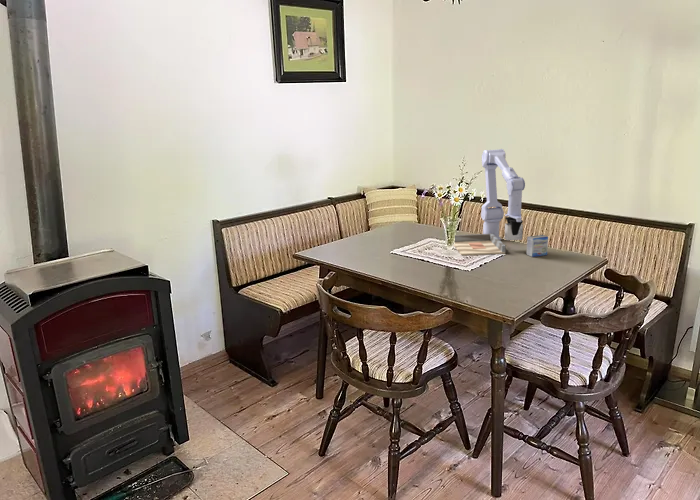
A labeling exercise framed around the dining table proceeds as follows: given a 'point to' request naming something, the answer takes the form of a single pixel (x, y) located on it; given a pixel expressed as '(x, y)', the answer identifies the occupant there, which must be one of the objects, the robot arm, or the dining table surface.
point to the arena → (479, 244)
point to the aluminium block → (509, 232)
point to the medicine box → (537, 245)
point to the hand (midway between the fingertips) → (513, 233)
